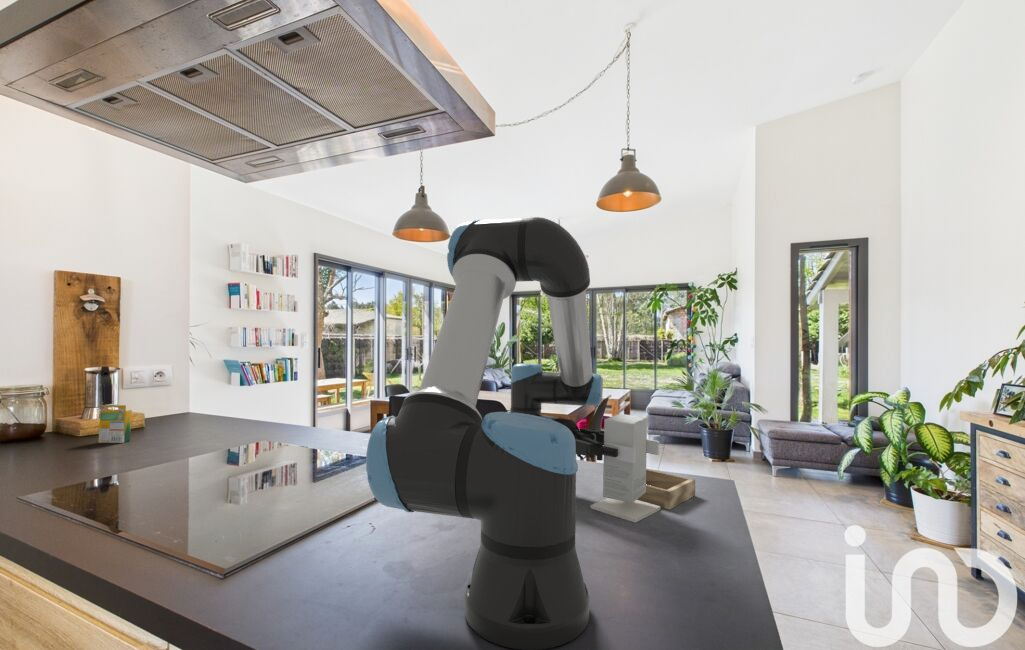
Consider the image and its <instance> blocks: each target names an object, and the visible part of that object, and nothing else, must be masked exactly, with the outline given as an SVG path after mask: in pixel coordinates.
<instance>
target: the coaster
mask: <svg viewBox="0 0 1025 650" xmlns="http://www.w3.org/2000/svg"><path fill="white" fill-rule="evenodd" d="M589 507H590V509H592V510H594V511H597V512H599V513H600V512H601V513H604V514H606V515H610V516H613V517H616V518H620V519H623V520H625V521H629V522H632V523H638V522H639V521H641V520H643V519H646V518H647V517H649V516H651V515H653V514H655V513H657V512H658V511H660V510H662V509H661V508H662V507H661V506H657V505H654V504H650V503H647V502H643V501H639V500H636V501H634V502H633V503H628V502H624V501H620V500H615V499H611V498H607V497H606V498H605V499H603V500H600V501H598V502H595V503H593V504H590V506H589Z"/></svg>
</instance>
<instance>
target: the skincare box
mask: <svg viewBox="0 0 1025 650" xmlns="http://www.w3.org/2000/svg"><path fill="white" fill-rule="evenodd" d="M603 422H604V427H603V431H604V443H606V442H607V443H612V444H617V445H622V446H627V447H633V448H636V463H630V462H625V461H621V460H616V459H612V458H607V457H604V456H603V465H602V466H603V467H602V468H603V471H602V472H603V473H602V474H603V475H602V476H603V477H602V479H603V481H602V497H603V498H606V499H607V498H611V499H615V500H620V501H624V502H628V503H633V502H634V501H636V500H637V499H638V498H639V497H641V496H642V495H643V494H644V493H646V469H647V453H646V451H647V439H648V437H647V436H648V435H647V434H648V416H643V415H633V414H626V413H625V414H622V413H619V414H616V415H614V416H611V417H608V418H604V421H603Z"/></svg>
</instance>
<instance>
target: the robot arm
mask: <svg viewBox="0 0 1025 650" xmlns="http://www.w3.org/2000/svg"><path fill="white" fill-rule="evenodd" d="M447 248H448V253H447V255H446V261H447V267H448V271H449V273H450V275H451V278H452V279H453V282H454V283H455V288H454V291H453V293H452V296H451V299H450V301H449V303H448V304H449V305H448V307H447V310H446V313H445V315H444V319H443V321H442V323H441V326H440V330H439V332H438V336H437V339H436V341H435V344H434V347H433V350H432V352H431V355H430V359H429V361H428V363H427V367H426V369H425V372H424V374H423V378H422V380H421V383H420V386H419V389H418V391H416V392H412V393H410V394H409V395H407V396H406V397H405V398H404V399H403V401H402V405H401V407H400V409H399V412H398V415H397V416H395V415H391V416H387V417H383V418H381V420H379V421H378V422H377V423H376V424H375V425H374V427H373V428H372V431H371V433H370V436H369V439H368V443H367V449H366V456H365V457H366V458H365V466H366V467H365V469H366V474H367V483H368V486H369V488H370V491H371V493H372V495H373V496H374V498H375V499H376V501H377V502H378V503H380V505H383V506H385V507H387V508H393V509H397V510H402V511H404V512H406V513H415V512H416V513H424V514H433V515H441V516H449V517H456V518H457V517H459V518H466V519H475V520H478V521H480V545H479V549H478V552H477V555H476V558H475V561H474V564H473V568H472V573H471V577H470V578H469V580H468V582H467V584H466V587H465V593H464V594H465V595H464V617H465V619H466V620H465V621H466V622H467V623H468V625H469V627H470V628H471V629H472V630H473V631H474V632H475V633H476V634H477V635H479V636H480V637H482V638H483V639H484V640H487V641H488V642H490V643H493V644H495V645H499V646H501V647H506V648H510V649H514V650H546V649H551V648H555V647H560V646H562V645H565V644H567V643H569V642H571V641H574V639H576V638H578V637H579V636H581V634H582V633H584V631H585V630H586V628H587V626H588V624H589V621H590V595H589V591H588V588H587V585H586V583H585V582H584V581H585V580H584V577H583V576H584V575H583V572H582V569H581V564H580V560H579V558H578V553H577V548H576V505H577V504H576V500H577V498H576V497H577V493H576V492H577V472H578V470H579V466H578V465H579V464H578V461H577V454H578V455H582V456H584V457H588V458H590V459H591V458H595V456H596V460H597V461H604V457H607V458H612V459H616V460H621V461H625V462H630V463H636V448H633V447H627V446H622V445H617V444H612V443H607V442H606V443H604V429H603V430H601V429H597V428H591V429H588V428H582V427H581V428H579V426H578V424H577V423H576V421H574V420H573V419H568V418H563V417H558V416H552V415H545V414H542V405H543V404H546V405H547V404H548V405H549V404H551V405H555V404H556V405H567V406H581V407H586V406H594V407H595V406H599V405H601V404H602V400H603V389H604V388H603V387H604V386H603V384H604V382H603V377H602V375H601V374H599V373H597V374H596V373H594V372H593V365H592V363H593V362H592V352H591V340H590V331H589V329H590V328H589V315H588V305H587V303H588V302H587V292H586V291H587V290H588V289H589V287H590V284H591V278H590V277H591V276H590V269H589V264H588V261H587V258H586V255H585V254H584V251H583V250H582V247H581V246H580V245H579V243H578V242H577V240H576V239H575V238H574V237H573V236H572V235H571V233H570V232H569V231H568V230H566V229H565V228H564V227H563V225H561V224H559V223H557V222H555V221H554V220H552V219H547V218H545V217H540V216H537V217H536V216H535V217H532V216H531V217H526V218H524V217H523V218H503V219H500V218H499V219H476V220H473V221H466V222H463V223H461V224H459V225H457V226H456V227H455V229H454V230H453V232H452V234H451V235H450V238H449V241H448V244H447ZM518 282H539V284H540V291H542V293H543V294H544V295H545V296H547V303H548V309H549V314H550V323H551V328H552V333H553V335H552V336H553V341H554V346H555V354H556V359H557V360H556V361H557V367H558V372H554V371H553V372H552V371H551V372H550V371H543V367H542V365H541V364H539V363H516V364H514V365H513V366H512V368H511V378H510V409H509V410H508V411H495V412H494V411H493V412H489V413H487V414H485V415H484V417H483V416H482V415H481V413H480V412H479V410H478V409H477V403H478V400H479V399H478V398H479V395H480V391H481V386H482V383H483V379H484V376H485V372H486V368H487V364H488V361H489V360H488V359H489V355H490V351H491V348H492V344H493V340H494V336H495V332H496V329H497V324H498V322H499V321H498V320H499V318H500V313H501V310H502V305H503V302H504V300H505V299H507V298H509V297H510V296H511V295H512V294H513V293H514V290H515V288H516V285H517V283H518ZM646 454H650V455H654V456H658V455H660V440H656V439H655V440H654V439H649V438H647V451H646Z"/></svg>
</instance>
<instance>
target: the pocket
mask: <svg viewBox="0 0 1025 650" xmlns="http://www.w3.org/2000/svg"><path fill="white" fill-rule="evenodd" d="M646 484H647V485H646V493H644V494H643V495H642V496H641V497H639V498H638V499H637V500H639V501H643V502H647V503H650V504H654V505H657V506H661V508H662V509H665V510H671V509H674V508H675V507H676V506H678V505H680V504H682V502H683V503H684V501H685V502H686V501H688V500H690V499H692V498H694V497H696V479H694V478H689V477H686V476H681V475H677V474H673V473H667V472H662V471H659V470H653V469H649V468H646ZM650 485H651V486H650ZM693 496H694V497H693ZM691 497H692V498H691ZM689 498H690V499H689Z"/></svg>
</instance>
